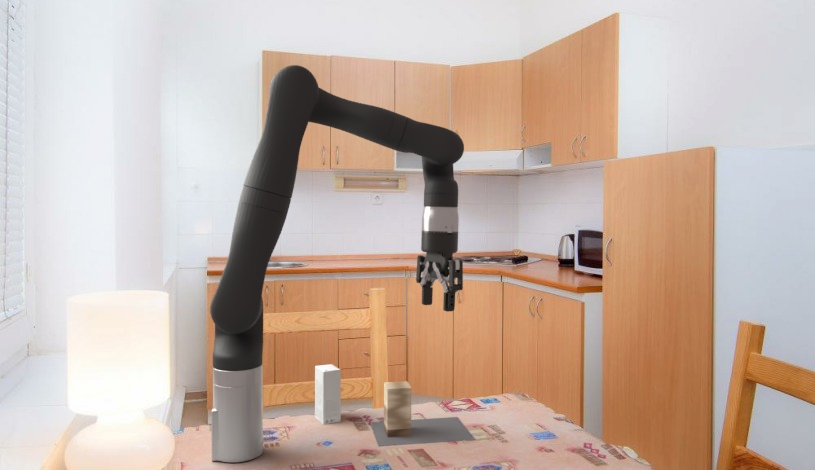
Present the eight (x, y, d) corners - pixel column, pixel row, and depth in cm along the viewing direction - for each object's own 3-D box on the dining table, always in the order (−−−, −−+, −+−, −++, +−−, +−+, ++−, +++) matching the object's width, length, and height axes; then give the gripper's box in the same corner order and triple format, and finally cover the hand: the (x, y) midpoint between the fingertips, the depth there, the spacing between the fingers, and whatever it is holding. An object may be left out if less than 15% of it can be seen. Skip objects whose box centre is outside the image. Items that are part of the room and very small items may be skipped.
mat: (378, 448, 121) (378, 446, 121) (369, 423, 135) (369, 422, 135) (475, 441, 124) (475, 439, 124) (457, 418, 138) (457, 416, 138)
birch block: (387, 437, 126) (387, 389, 125) (383, 428, 131) (384, 382, 130) (411, 435, 127) (411, 387, 126) (406, 427, 131) (407, 381, 131)
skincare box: (341, 423, 135) (341, 369, 135) (323, 426, 133) (323, 371, 133) (332, 415, 140) (331, 363, 140) (314, 417, 139) (314, 365, 138)
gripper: (407, 227, 129) (405, 303, 130) (443, 230, 117) (440, 314, 118) (437, 228, 133) (434, 302, 134) (475, 230, 121) (472, 312, 121)
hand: (437, 307), depth 126 cm, fingers open, 8 cm apart
